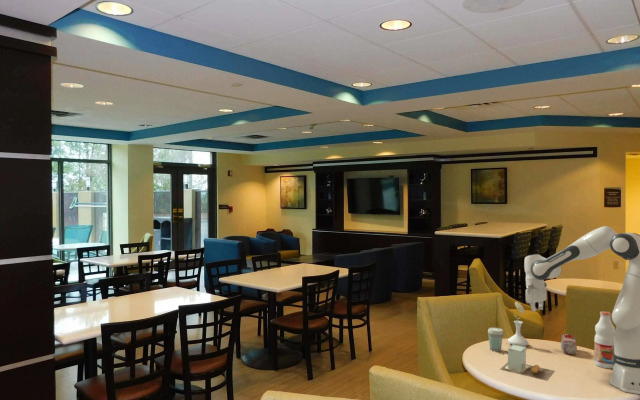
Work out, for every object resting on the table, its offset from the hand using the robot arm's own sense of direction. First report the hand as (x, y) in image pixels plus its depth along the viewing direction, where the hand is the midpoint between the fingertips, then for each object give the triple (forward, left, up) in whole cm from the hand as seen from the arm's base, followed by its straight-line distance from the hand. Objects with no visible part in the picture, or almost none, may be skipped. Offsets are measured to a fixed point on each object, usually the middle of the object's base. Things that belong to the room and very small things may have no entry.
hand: (537, 310), depth 247 cm
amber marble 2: (-4, +19, -26) cm, 33 cm away
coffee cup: (+23, -2, -27) cm, 35 cm away
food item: (-10, -27, -27) cm, 40 cm away
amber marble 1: (-4, +23, -26) cm, 35 cm away
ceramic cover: (+4, +21, -26) cm, 34 cm away
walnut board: (0, +21, -27) cm, 34 cm away
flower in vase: (+16, -21, -27) cm, 38 cm away
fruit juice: (-29, -15, -27) cm, 43 cm away
